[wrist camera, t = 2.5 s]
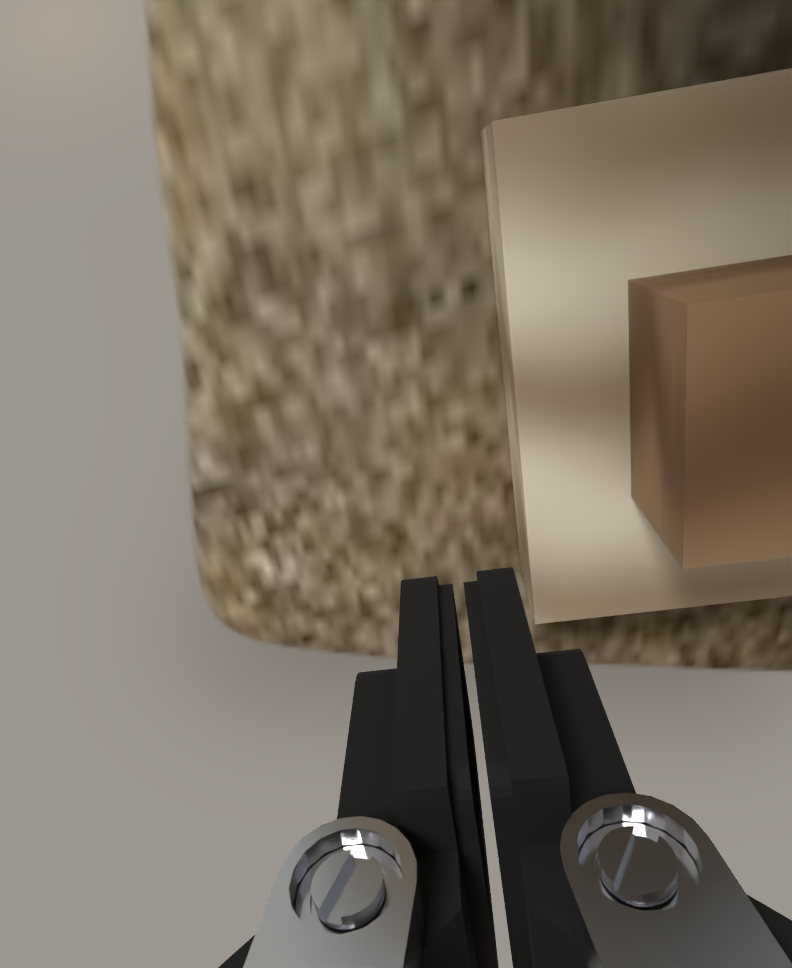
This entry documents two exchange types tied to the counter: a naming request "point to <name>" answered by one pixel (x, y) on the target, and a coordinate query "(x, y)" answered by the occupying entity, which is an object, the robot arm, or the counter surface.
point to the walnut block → (714, 410)
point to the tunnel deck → (618, 316)
